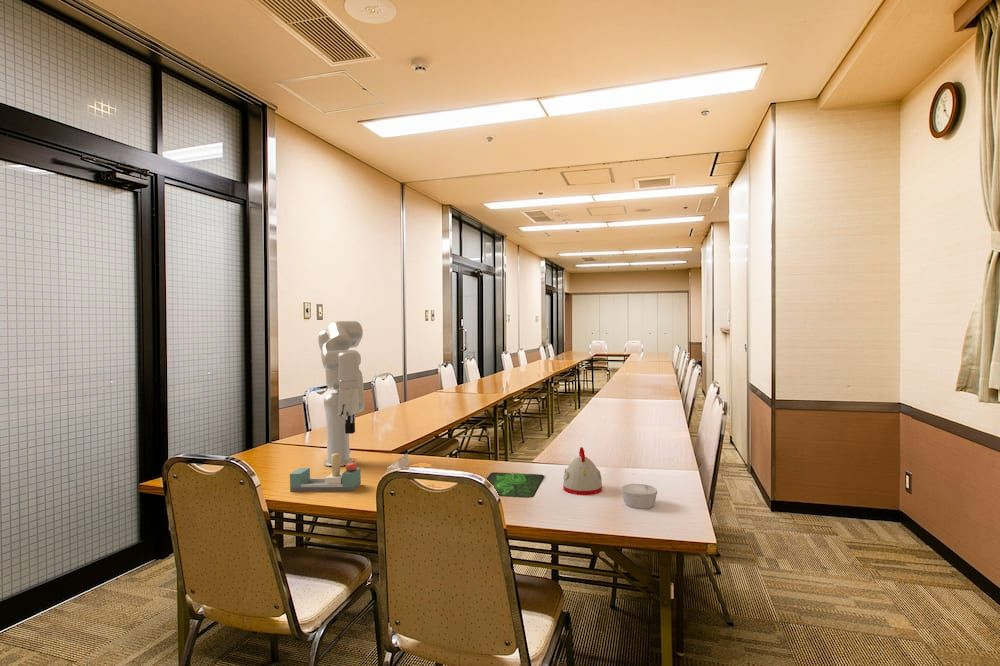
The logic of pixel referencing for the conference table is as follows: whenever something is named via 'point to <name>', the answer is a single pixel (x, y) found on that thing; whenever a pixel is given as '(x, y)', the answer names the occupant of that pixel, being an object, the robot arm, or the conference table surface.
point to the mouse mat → (515, 484)
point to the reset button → (351, 466)
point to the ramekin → (639, 496)
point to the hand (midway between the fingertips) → (350, 432)
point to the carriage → (334, 471)
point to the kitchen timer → (582, 477)
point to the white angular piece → (399, 463)
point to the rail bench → (323, 481)
